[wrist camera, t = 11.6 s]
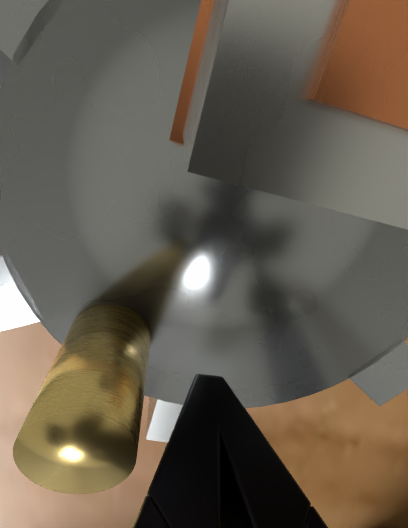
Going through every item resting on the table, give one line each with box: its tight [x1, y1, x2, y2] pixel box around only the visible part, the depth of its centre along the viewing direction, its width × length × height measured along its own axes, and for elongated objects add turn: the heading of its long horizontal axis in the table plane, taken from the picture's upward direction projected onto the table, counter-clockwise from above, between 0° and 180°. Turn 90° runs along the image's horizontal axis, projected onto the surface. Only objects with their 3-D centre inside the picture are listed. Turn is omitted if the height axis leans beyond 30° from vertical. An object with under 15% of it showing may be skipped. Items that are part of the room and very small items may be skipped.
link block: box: [183, 0, 408, 229], centre depth 4 cm, size 4×4×4 cm
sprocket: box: [0, 0, 408, 494], centre depth 7 cm, size 14×13×5 cm
